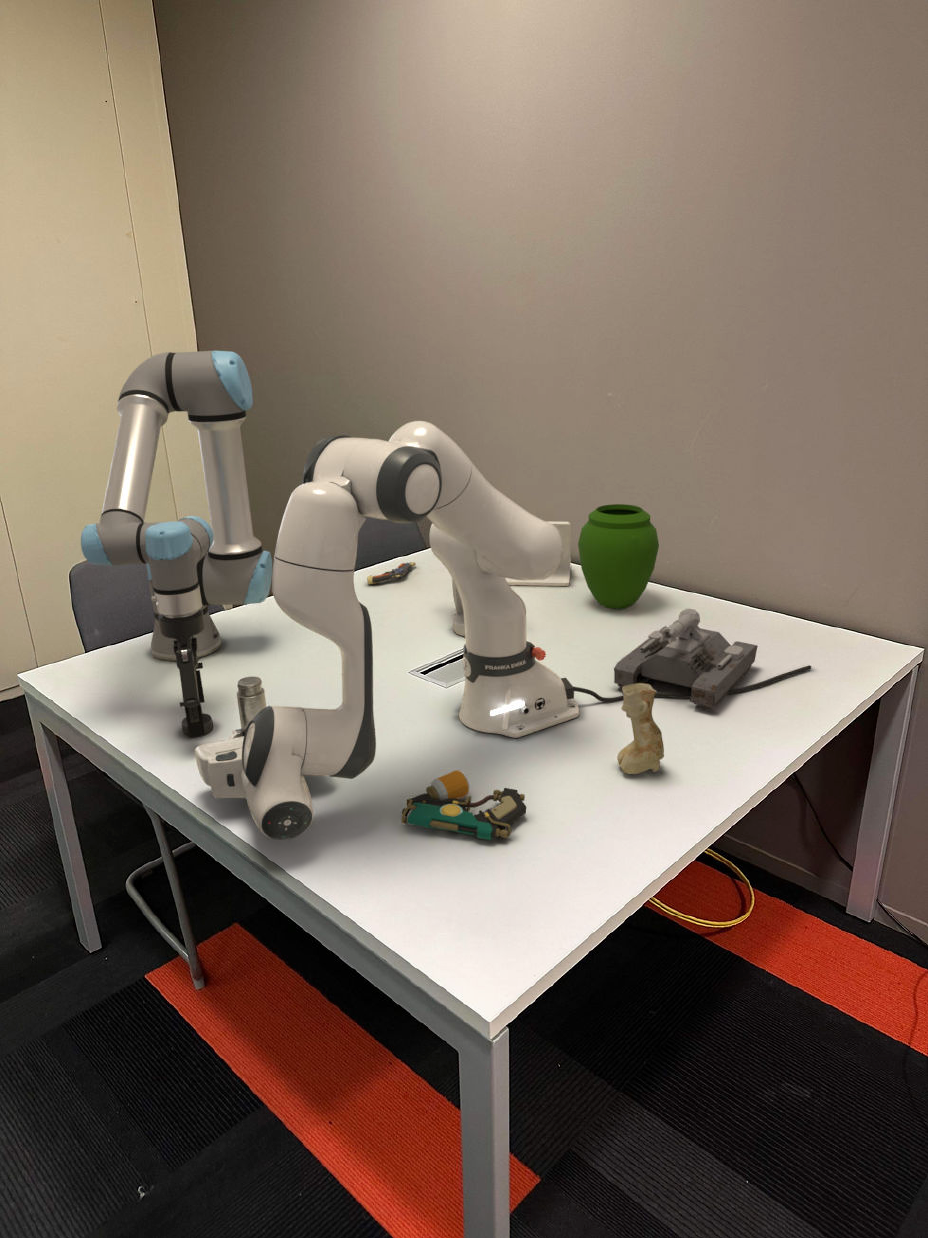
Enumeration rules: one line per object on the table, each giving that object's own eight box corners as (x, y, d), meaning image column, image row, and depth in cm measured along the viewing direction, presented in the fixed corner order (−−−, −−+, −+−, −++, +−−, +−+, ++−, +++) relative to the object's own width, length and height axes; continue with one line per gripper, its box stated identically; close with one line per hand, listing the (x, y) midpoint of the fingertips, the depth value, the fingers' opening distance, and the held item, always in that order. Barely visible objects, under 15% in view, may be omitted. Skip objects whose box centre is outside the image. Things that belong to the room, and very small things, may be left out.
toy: (664, 648, 187) (668, 583, 182) (755, 667, 176) (762, 599, 171) (612, 690, 168) (615, 619, 163) (711, 715, 157) (717, 639, 152)
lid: (208, 720, 161) (207, 710, 160) (217, 732, 157) (215, 721, 156) (179, 728, 159) (177, 718, 158) (186, 740, 154) (185, 729, 153)
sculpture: (613, 761, 142) (616, 680, 137) (655, 758, 143) (660, 676, 138) (623, 780, 137) (627, 695, 132) (667, 776, 138) (672, 692, 132)
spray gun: (537, 812, 130) (487, 868, 119) (446, 778, 138) (391, 827, 127) (539, 789, 129) (488, 844, 117) (446, 756, 137) (390, 804, 125)
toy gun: (364, 577, 233) (399, 574, 231) (383, 561, 251) (416, 558, 249) (366, 586, 234) (400, 583, 232) (384, 570, 252) (417, 567, 250)
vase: (599, 587, 227) (601, 497, 218) (668, 600, 216) (673, 505, 208) (562, 608, 212) (564, 513, 204) (634, 623, 202) (639, 523, 193)
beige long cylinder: (278, 764, 145) (268, 680, 140) (256, 775, 142) (245, 689, 136) (263, 756, 148) (252, 673, 142) (241, 766, 145) (229, 681, 139)
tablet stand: (569, 585, 229) (570, 524, 223) (476, 584, 232) (475, 523, 226) (570, 566, 246) (571, 508, 240) (484, 564, 249) (483, 507, 243)
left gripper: (160, 591, 160) (177, 693, 168) (154, 640, 138) (174, 754, 145) (201, 586, 162) (216, 687, 170) (203, 633, 139) (220, 747, 147)
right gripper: (332, 736, 134) (314, 701, 146) (198, 764, 127) (190, 724, 139) (336, 772, 136) (317, 734, 148) (203, 800, 129) (195, 758, 141)
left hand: (197, 718), depth 157 cm, fingers open, 13 cm apart
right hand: (254, 729), depth 143 cm, fingers closed on beige long cylinder, 4 cm apart
